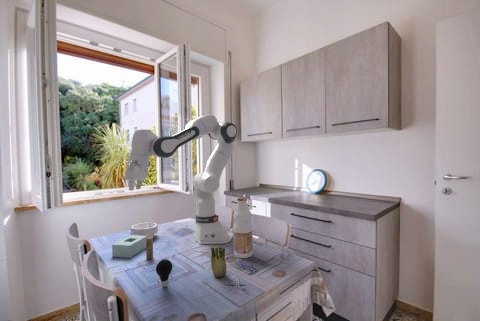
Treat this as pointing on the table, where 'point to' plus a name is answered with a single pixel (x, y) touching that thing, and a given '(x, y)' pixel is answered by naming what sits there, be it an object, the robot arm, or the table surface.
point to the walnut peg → (149, 248)
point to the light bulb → (164, 271)
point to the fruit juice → (242, 230)
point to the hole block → (129, 246)
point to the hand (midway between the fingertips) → (134, 189)
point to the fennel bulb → (218, 261)
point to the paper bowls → (144, 229)
